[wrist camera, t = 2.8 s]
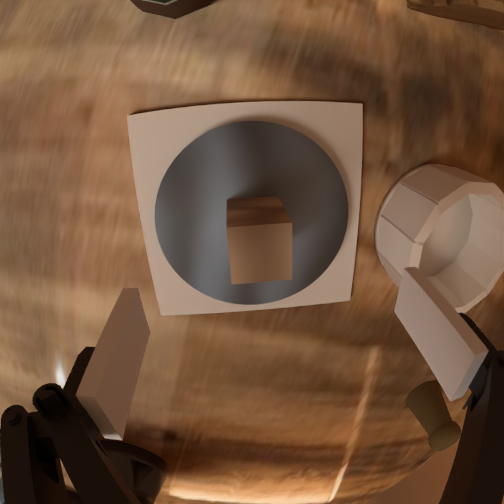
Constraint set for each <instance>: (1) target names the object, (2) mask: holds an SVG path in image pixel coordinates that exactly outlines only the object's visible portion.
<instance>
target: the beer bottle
mask: <svg viewBox="0 0 504 504" xmlns="http://www.w3.org/2000/svg"><path fill="white" fill-rule="evenodd" d="M131 1H132V2H133V3H134V4H135V5H136V6H137V7H138V8H139V9H141V10H142V11H143V12H148V13H152V14H157V15H161V16H166V17H170V18H174V19H176V18H179V17H181V16H183V15H186V14H188V13H190V12H193V11H195V10H198V9H200V8H203V7H205V6H208V5H210V4H211V2H212V0H131Z"/></svg>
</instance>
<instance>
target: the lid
mask: <svg viewBox="0 0 504 504" xmlns="http://www.w3.org/2000/svg"><path fill="white" fill-rule="evenodd" d="M154 218H155V228H156V233H157V238H158V242H159V244H160V247H161V249H162V252H163V254H164V256H165V257H166V259H167V261H168V263H169V264H170V265H171V267H172V268H173V269H174V271H175V272H176V273H177V274H178V275H179V276H180V277H181V278H182V279H183V280H184V281H185V282H186V283H188V284H189V285H190V286H191V287H193V288H194V289H196V290H198V291H199V292H201V293H202V294H205V295H207V296H209V297H211V298H214V299H217V300H220V301H223V302H228V303H233V304H242V305H258V304H265V303H271V302H275V301H279V300H282V299H285V298H287V297H290V296H292V295H294V294H296V293H298V292H300V291H302V290H303V289H305V288H306V287H308V286H309V285H311V284H312V283H313V282H314V281H315V280H317V279H318V278H319V277H320V276H321V275H322V274H323V273H324V272H325V271H326V270H327V268H328V267H329V266H330V264H331V263H332V262H333V260H334V259H335V257H336V255H337V253H338V252H339V250H340V248H341V245H342V243H343V240H344V237H345V233H346V229H347V223H348V199H347V192H346V189H345V185H344V182H343V179H342V177H341V175H340V173H339V171H338V169H337V167H336V166H335V164H334V162H333V161H332V159H331V158H330V157H329V156H328V155H327V153H326V152H325V151H324V150H323V149H322V148H321V147H320V146H319V145H318V144H316V143H315V142H314V141H313V140H311V139H310V138H308V137H307V136H305V135H304V134H302V133H300V132H298V131H296V130H294V129H291V128H289V127H286V126H283V125H279V124H276V123H271V122H265V121H241V122H234V123H230V124H226V125H222V126H219V127H217V128H215V129H212V130H210V131H208V132H206V133H204V134H203V135H201V136H199V137H198V138H196V139H195V140H194V141H192V142H191V143H190V144H189V145H187V146H186V147H185V148H184V149H183V150H182V151H181V152H180V153H179V154H178V156H177V157H176V158H175V159H174V160H173V162H172V163H171V165H170V166H169V168H168V169H167V171H166V173H165V175H164V177H163V179H162V181H161V184H160V187H159V189H158V192H157V197H156V203H155V217H154Z"/></svg>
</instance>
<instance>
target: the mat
mask: <svg viewBox="0 0 504 504" xmlns="http://www.w3.org/2000/svg"><path fill="white" fill-rule="evenodd" d="M127 121H128V131H129V140H130V149H131V157H132V165H133V172H134V180H135V186H136V193H137V199H138V206H139V212H140V217H141V223H142V229H143V234H144V240H145V245H146V250H147V255H148V260H149V265H150V269H151V274H152V278H153V283H154V287H155V292H156V296H157V300H158V304H159V309H160V313H161V316H167V315H188V314H206V313H222V312H237V311H250V310H262V309H274V308H285V307H295V306H305V305H315V304H324V303H333V302H342V301H350V296H351V288H352V280H353V272H354V264H355V254H356V244H357V234H358V222H359V209H360V193H361V173H362V140H363V104H359V103H344V102H321V101H263V102H240V103H224V104H212V105H201V106H191V107H182V108H174V109H166V110H159V111H152V112H146V113H139V114H134V115H128V116H127ZM241 121H265V122H271V123H276V124H279V125H283V126H286V127H289V128H291V129H294V130H296V131H298V132H300V133H302V134H304V135H305V136H307V137H308V138H310V139H311V140H313V141H314V142H315V143H316V144H318V145H319V146H320V147H321V148H322V149H323V150H324V151H325V152H326V153H327V155H328V156H329V157H330V158H331V159H332V161H333V162H334V164H335V166H336V167H337V169H338V171H339V173H340V175H341V177H342V179H343V182H344V185H345V189H346V192H347V199H348V223H347V229H346V233H345V237H344V240H343V243H342V245H341V248H340V250H339V252H338V253H337V255H336V257H335V259H334V260H333V262H332V263H331V264H330V266H329V267H328V268H327V270H326V271H325V272H324V273H323V274H322V275H321V276H320V277H319V278H318V279H317V280H315V281H314V282H313V283H312V284H311V285H309V286H308V287H306V288H305V289H303V290H302V291H300V292H298V293H296V294H294V295H292V296H290V297H287V298H285V299H282V300H279V301H275V302H271V303H265V304H258V305H242V304H233V303H228V302H223V301H220V300H217V299H214V298H211V297H209V296H207V295H205V294H202V293H201V292H199V291H198V290H196V289H194V288H193V287H191V286H190V285H189V284H188V283H186V282H185V281H184V280H183V279H182V278H181V277H180V276H179V275H178V274H177V273H176V272H175V271H174V269H173V268H172V267H171V265H170V264H169V263H168V261H167V259H166V257H165V256H164V254H163V252H162V249H161V247H160V244H159V242H158V238H157V233H156V228H155V218H154V217H155V203H156V197H157V192H158V189H159V187H160V184H161V181H162V179H163V177H164V175H165V173H166V171H167V169H168V168H169V166H170V165H171V163H172V162H173V160H174V159H175V158H176V157H177V156H178V154H179V153H180V152H181V151H182V150H183V149H184V148H185V147H186V146H187V145H189V144H190V143H191V142H192V141H194V140H195V139H196V138H198V137H199V136H201V135H203V134H204V133H206V132H208V131H210V130H212V129H215V128H217V127H219V126H222V125H226V124H230V123H234V122H241Z"/></svg>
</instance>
